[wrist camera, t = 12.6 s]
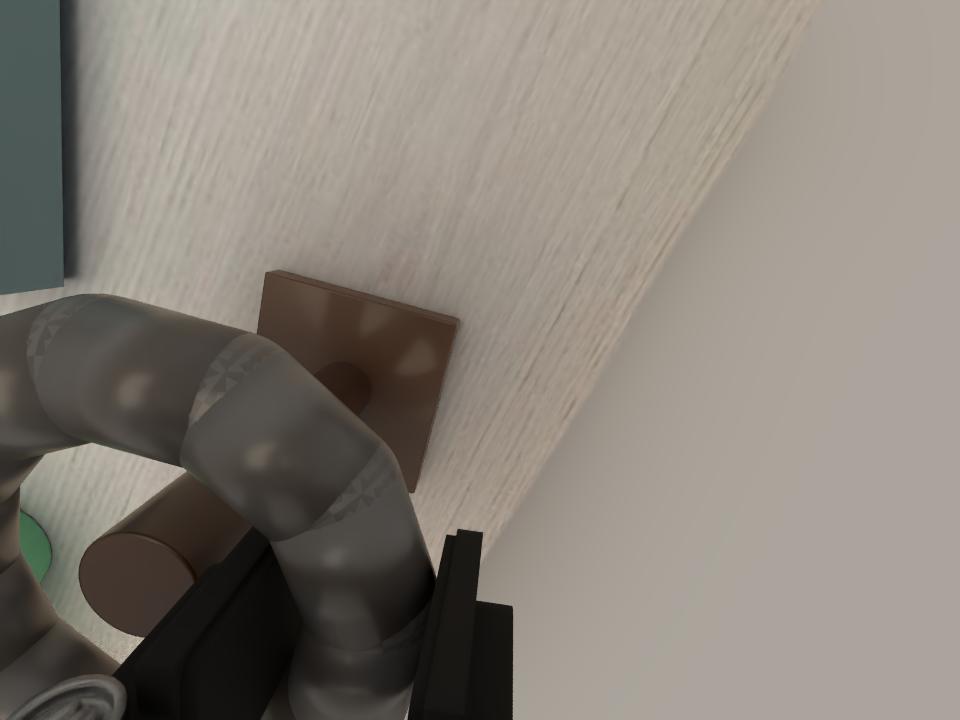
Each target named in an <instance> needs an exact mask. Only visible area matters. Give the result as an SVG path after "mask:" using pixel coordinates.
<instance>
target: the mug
mask: <svg viewBox="0 0 960 720" xmlns="http://www.w3.org/2000/svg"><path fill="white" fill-rule="evenodd" d="M20 550H21V551H22V553H23V555H24V557H25V558H26V560H27V562H28V564H29V566H30V567H31V569H32V571H33V573H34V574H35V576H36V578H37V580H38V582H39V583H40V581H41V580H42V578H43V576H44V575H45V573H46V572H47V570H48V569H49V567H50V563H51V557H52V553H51V548H50V542H49V541H48V539H47V537H46V535H45V533H44V531H43V530H42V528H41V527H40V526H39V525H38V524H37V523H36V522H35V521H34V520H33V519H32V518H31V517H29V516H28V515H26V514H25V513H24V512H22V511H21V510H20Z"/></svg>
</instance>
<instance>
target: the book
mask: <svg viewBox="0 0 960 720" xmlns="http://www.w3.org/2000/svg"><path fill="white" fill-rule="evenodd" d="M63 286H64V265H63V198H62V130H61V63H60V0H0V295H4V294H12V293H19V292H27V291H34V290H41V289H49V288H56V287H63Z"/></svg>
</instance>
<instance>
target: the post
mask: <svg viewBox="0 0 960 720" xmlns="http://www.w3.org/2000/svg"><path fill="white" fill-rule="evenodd" d="M459 322H460V320H459V319H458V318H454V317H450V316H447V315H443V314H439V313H436V312H432V311H428V310H425V309H421V308H417V307H414V306H410V305H406V304H403V303H399V302H395V301H392V300H388V299H384V298H381V297H377V296H373V295H370V294H366V293H362V292H359V291H355V290H351V289H348V288H344V287H340V286H337V285H333V284H329V283H325V282H322V281H318V280H314V279H311V278H307V277H303V276H300V275H296V274H292V273H289V272H285V271H281V270H276V271H271V272H266V274H265V280H264V287H263V294H262V301H261V308H260V315H259V322H258V329H257V335H261V336H263V337H265V338H268V339H269V340H271V341H273V342H275V343H276V344H277V345H279V346H280V347H282V348H283V349H284V350H286V351H287V352H288V353H289V354H290V355H291V356H292V357H293V358H295V359H296V360H297V361H298V362H299V363H300V364H301V365H302V366H303V367H304V368H305V369H307V370H308V371H309V372H310V373H311V374H312V375H313V376H314V377H315V378H316V379H317V380H318V381H320V382H321V383H322V384H323V385H324V386H325V387H326V388H327V389H328V390H329V391H330V392H332V393H333V394H334V395H335V396H336V397H337V398H338V399H339V400H340V401H341V402H342V403H343V404H345V405H346V406H347V407H348V408H349V409H350V410H351V411H352V412H353V413H354V414H355V415H357V416H358V417H359V418H360V419H361V420H362V421H363V422H364V423H365V424H366V425H367V426H369V427H370V428H371V429H372V430H373V431H374V432H375V433H376V434H377V435H378V436H379V437H380V438H382V440H383V441H384V442H385V443H386V444H387V445H388V447H389V448H390V449H391V450H392V452H393V453H394V455H395V457H396V459H397V461H398V464H399V466H400V469H401V472H402V475H403V478H404V481H405V484H406V487H407V490H408V492H409V493H414V492H415V490H416V487H417V484H418V481H419V478H420V474H421V470H422V466H423V462H424V458H425V454H426V451H427V447H428V443H429V439H430V435H431V431H432V427H433V423H434V419H435V415H436V412H437V408H438V404H439V400H440V396H441V392H442V388H443V384H444V380H445V376H446V373H447V369H448V365H449V361H450V357H451V353H452V349H453V345H454V341H455V338H456V334H457V330H458V326H459ZM251 527H252V525H251V524H250V523H248V522H247V521H246V520H245V519H244V518H243V517H241V516H240V515H239V514H238V513H237V512H235V511H234V510H233V509H232V508H231V507H229V506H228V505H227V504H226V503H225V502H224V501H222V500H221V499H220V498H219V497H218V496H216V495H215V494H214V493H213V492H212V491H211V490H209V489H208V488H207V487H206V486H205V485H203V484H202V483H201V482H200V481H199V480H197V479H196V478H195V477H194V476H193V475H192V474H190V473H189V472H188V471H186V472H185V473H184V474H182V475H181V476H180V477H178V478H177V479H176V480H174V481H173V482H172V483H170V484H169V485H168V486H166V487H165V488H164V489H162V490H161V491H160V492H159V493H157V494H156V495H155V496H153V497H152V498H151V499H149V500H148V501H147V502H145V503H144V504H143V505H141V506H140V507H139V508H137V509H136V510H135V511H133V512H132V513H131V514H129V515H128V516H127V517H125V518H124V519H123V520H121V521H120V522H119V523H117V524H116V525H115V526H114V527H112V528H111V529H110V530H108V531H107V532H106V533H104V534H103V535H102V536H100V537H99V538H98V539H96V540H95V541H94V542H93V543H92V544H91V545H90V546H89V547H88V548H87V550H86V551H85V553H84V555H83V557H82V559H81V562H80V565H79V582H80V587H81V590H82V592H83V595H84V597H85V599H86V600H87V602H88V604H89V605H90V606H91V608H92V609H93V610H94V611H95V612H96V613H97V614H98V615H99V616H100V617H101V618H102V619H103V620H104V621H105V622H107V623H108V624H110V625H111V626H113V627H115V628H116V629H118V630H120V631H123V632H125V633H127V634H131V635H134V636H138V637H144V638H145V637H146V636H147V635H148V634H149V633H150V632H151V631H152V630H153V628H154V627H155V626H156V625H157V624H158V623H159V622H160V621H161V619H162V618H163V617H164V616H165V615H166V614H167V613H168V612H169V610H170V609H171V608H172V607H173V606H174V605H175V604H176V603H177V601H178V600H179V599H180V598H181V597H182V596H183V595H184V594H185V592H186V591H187V590H188V589H189V588H190V587H191V586H192V585H193V583H194V582H195V581H196V580H197V579H198V578H199V577H200V576H201V574H202V573H203V572H204V571H205V570H206V569H207V568H208V567H209V566H210V565H212V564H214V563H217V562H218V563H221V562H222V561H223V560H224V559H225V558H226V556H227V555H228V554H229V553H230V552H231V551H232V549H233V548H234V547H235V546H236V545H237V544H238V543H239V541H240V540H241V539H242V538H243V537H244V536H245V534H246V533H247V532H248V531H249V530H250V529H251Z"/></svg>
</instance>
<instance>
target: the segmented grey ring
mask: <svg viewBox="0 0 960 720" xmlns="http://www.w3.org/2000/svg"><path fill="white" fill-rule="evenodd" d="M88 443H95V444H99V445H103V446H106V447H110V448H113V449H117V450H121V451H124V452H128V453H131V454H135V455H139V456H142V457H146V458H150V459H153V460H157V461H160V462H164V463H168V464H171V465H175V466H179V467H182V468H184V469H186V470H187V471H188V472H189V473H190V474H192V475H193V476H194V477H195V478H196V479H197V480H199V481H200V482H201V483H202V484H203V485H205V486H206V487H207V488H208V489H209V490H211V491H212V492H213V493H214V494H215V495H216V496H218V497H219V498H220V499H221V500H222V501H224V502H225V503H226V504H227V505H228V506H229V507H231V508H232V509H233V510H234V511H235V512H237V513H238V514H239V515H240V516H241V517H243V518H244V519H245V520H246V521H247V522H248V523H250V524H251V525H252V526H253V527H254V528H256V529H257V530H258V531H259V532H260V533H261V534H263V535H264V536H265V537H266V538H267V539H269V541H270V544H271V546H272V548H273V551H274V553H275V556H276V558H277V560H278V563H279V565H280V567H281V570H282V572H283V575H284V577H285V579H286V582H287V584H288V586H289V589H290V591H291V594H292V596H293V598H294V601H295V603H296V605H297V608H298V610H299V613H300V615H301V618H300V623H299V628H298V632H297V637H296V642H295V647H294V652H293V657H292V658H291V659H290V661H289V663H288V665H287V666H286V668H285V671H284V673H283V675H282V677H281V680H280V682H279V685H278V687H277V689H276V691H275V693H274V694H273V696H272V698H271V700H270V702H269V704H268V706H267V708H266V710H265V712H264V714H263V716H262V718H261V720H404V718H405V715H406V713H407V710H408V707H409V703H410V700H411V694H412V689H413V684H414V679H415V675H416V670H417V666H418V661H419V657H420V652H421V648H422V643H423V639H424V634H425V629H426V625H427V620H428V616H429V611H430V607H431V602H432V598H433V593H434V589H435V584H436V580H437V579H436V575H435V571H434V568H433V565H432V562H431V559H430V556H429V553H428V550H427V547H426V544H425V541H424V538H423V535H422V532H421V529H420V526H419V523H418V520H417V517H416V514H415V511H414V508H413V505H412V502H411V499H410V496H409V493H408V490H407V487H406V484H405V481H404V478H403V475H402V472H401V469H400V466H399V464H398V461H397V459H396V457H395V455H394V453H393V452H392V450H391V449H390V448H389V447H388V445H387V444H386V443H385V442H384V441H383V440H382V438H380V437H379V436H378V435H377V434H376V433H375V432H374V431H373V430H372V429H371V428H370V427H369V426H367V425H366V424H365V423H364V422H363V421H362V420H361V419H360V418H359V417H358V416H357V415H355V414H354V413H353V412H352V411H351V410H350V409H349V408H348V407H347V406H346V405H345V404H343V403H342V402H341V401H340V400H339V399H338V398H337V397H336V396H335V395H334V394H333V393H332V392H330V391H329V390H328V389H327V388H326V387H325V386H324V385H323V384H322V383H321V382H320V381H318V380H317V379H316V378H315V377H314V376H313V375H312V374H311V373H310V372H309V371H308V370H307V369H305V368H304V367H303V366H302V365H301V364H300V363H299V362H298V361H297V360H296V359H295V358H293V357H292V356H291V355H290V354H289V353H288V352H287V351H286V350H284V349H283V348H282V347H280V346H279V345H277V344H276V343H275V342H273V341H271V340H269V339H268V338H265V337H263V336H261V335H257V334H254V333H251V332H247V331H244V330H240V329H236V328H233V327H229V326H226V325H222V324H218V323H215V322H211V321H208V320H204V319H200V318H197V317H193V316H190V315H186V314H182V313H179V312H175V311H172V310H168V309H164V308H161V307H157V306H154V305H150V304H146V303H143V302H139V301H136V300H132V299H128V298H125V297H120V296H115V295H109V294H81V295H75V296H70V297H66V298H62V299H58V300H55V301H51V302H48V303H44V304H41V305H37V306H34V307H30V308H27V309H24V310H20V311H17V312H13V313H10V314H6V315H3V316H0V720H6V719H7V718H8V717H9V716H10V715H11V714H12V713H13V712H14V711H16V710H17V709H18V708H19V707H20V706H21V705H22V704H23V703H24V702H25V701H27V700H29V699H30V698H32V697H33V696H35V695H36V694H38V693H39V692H41V691H42V690H44V689H46V688H48V687H50V686H53V685H55V684H57V683H59V682H62V681H64V680H67V679H71V678H74V677H78V676H82V675H93V674H103V675H107V676H112V675H113V673H114V672H115V671H116V670H117V669H118V668H119V667H120V666H121V664H120V663H118V662H117V661H116V660H115V659H113V658H112V657H111V656H109V655H108V654H107V653H105V652H104V651H103V650H101V649H100V648H99V647H97V646H96V645H95V644H93V643H92V642H91V641H89V640H88V639H87V638H85V637H84V636H83V635H81V634H80V633H79V632H77V631H76V630H75V629H73V628H72V627H71V626H70V625H68V624H67V623H66V622H64V621H63V620H62V619H60V618H59V617H58V615H57V613H56V612H55V610H54V608H53V606H52V605H51V603H50V601H49V599H48V597H47V596H46V594H45V592H44V590H43V589H42V587H41V585H40V583H39V582H38V580H37V578H36V576H35V574H34V573H33V571H32V569H31V567H30V566H29V564H28V562H27V560H26V558H25V557H24V555H23V553H22V551H21V550H20V485H21V483H22V482H23V481H24V480H25V479H26V477H27V476H28V475H29V474H30V472H31V471H32V470H33V469H34V467H35V466H36V465H37V464H38V462H39V461H40V460H41V459H42V457H43V456H44V455H45V454H47V453H51V452H55V451H59V450H63V449H67V448H71V447H76V446H80V445H84V444H88Z"/></svg>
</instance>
